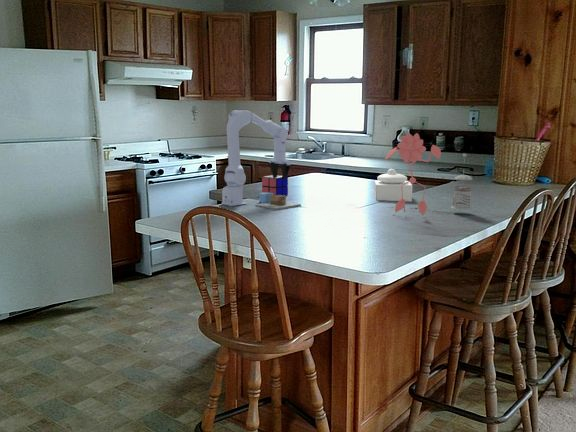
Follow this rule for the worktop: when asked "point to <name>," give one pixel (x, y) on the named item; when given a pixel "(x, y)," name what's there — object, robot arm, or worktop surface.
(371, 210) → the worktop surface
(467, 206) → the french press
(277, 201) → the walnut block
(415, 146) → the figurine
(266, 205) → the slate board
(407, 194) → the white lidded canister
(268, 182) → the puzzle cube
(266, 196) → the blue cube
